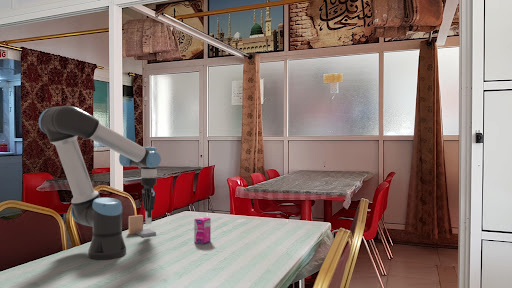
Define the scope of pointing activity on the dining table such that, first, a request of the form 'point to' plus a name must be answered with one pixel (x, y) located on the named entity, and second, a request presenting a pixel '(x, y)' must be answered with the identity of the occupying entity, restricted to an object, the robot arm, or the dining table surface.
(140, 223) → the terracotta tile
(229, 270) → the dining table surface
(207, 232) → the supplement box
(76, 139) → the robot arm
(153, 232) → the slate tile
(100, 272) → the dining table surface
